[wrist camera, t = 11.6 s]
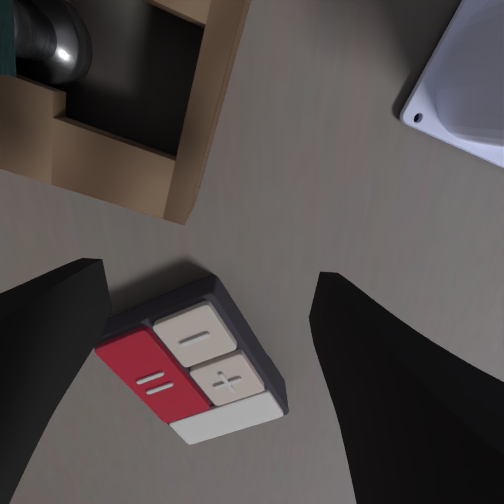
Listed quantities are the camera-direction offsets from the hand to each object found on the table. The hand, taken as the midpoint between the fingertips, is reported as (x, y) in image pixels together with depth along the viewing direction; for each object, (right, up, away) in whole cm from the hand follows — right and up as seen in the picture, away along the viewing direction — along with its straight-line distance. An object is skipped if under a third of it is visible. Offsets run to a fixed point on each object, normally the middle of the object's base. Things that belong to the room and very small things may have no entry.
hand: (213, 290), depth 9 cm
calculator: (-3, -8, +17) cm, 19 cm away
